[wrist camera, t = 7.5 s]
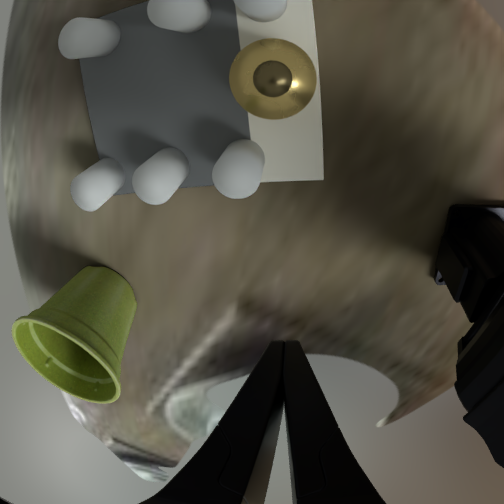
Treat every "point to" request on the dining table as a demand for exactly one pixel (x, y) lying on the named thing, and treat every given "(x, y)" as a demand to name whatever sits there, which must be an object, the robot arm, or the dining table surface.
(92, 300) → the plant pot
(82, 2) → the dining table surface
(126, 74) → the board
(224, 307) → the dining table surface
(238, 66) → the brass knob
